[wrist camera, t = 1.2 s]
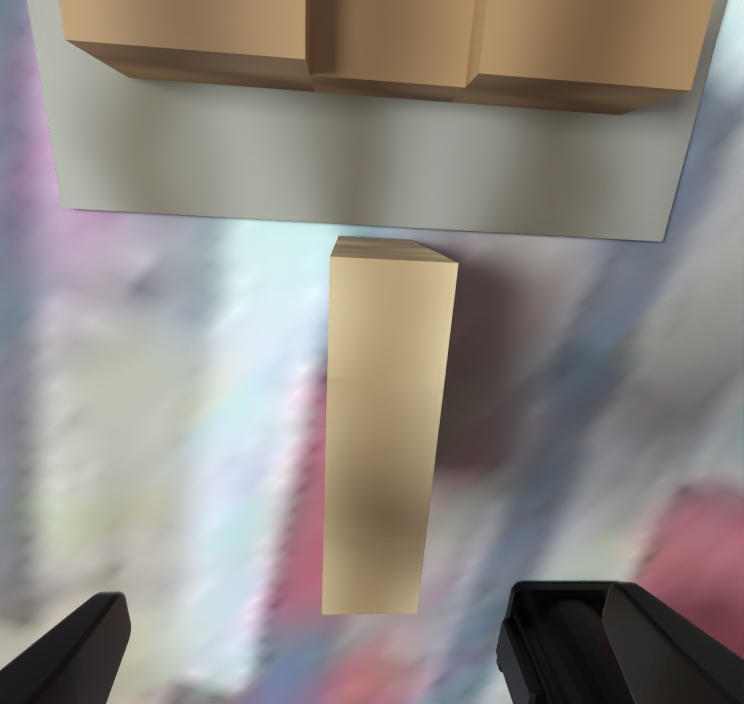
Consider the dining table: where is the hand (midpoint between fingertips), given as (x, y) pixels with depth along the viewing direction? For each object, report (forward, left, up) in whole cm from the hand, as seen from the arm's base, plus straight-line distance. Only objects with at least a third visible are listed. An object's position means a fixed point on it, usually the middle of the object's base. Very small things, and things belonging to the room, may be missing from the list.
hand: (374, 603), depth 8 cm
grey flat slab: (0, -12, -12) cm, 17 cm away
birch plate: (0, 0, -12) cm, 12 cm away
